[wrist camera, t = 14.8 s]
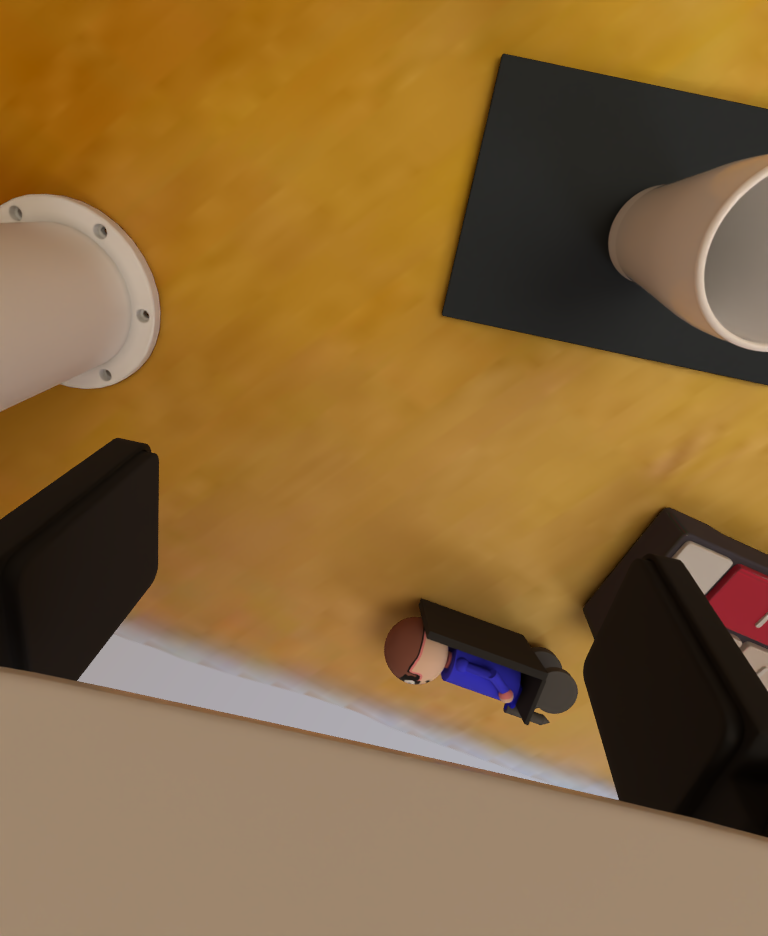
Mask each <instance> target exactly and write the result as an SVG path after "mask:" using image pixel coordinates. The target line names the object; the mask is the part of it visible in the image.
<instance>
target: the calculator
mask: <svg viewBox="0 0 768 936" xmlns="http://www.w3.org/2000/svg"><path fill="white" fill-rule="evenodd" d="M648 553H651V554H655V555H660V556H665V557H669V558H674V559H678V560H681V561H682V562H683V563H684V565H685V566H686V568H687V569H688V571H689V572H690V574H691V575H692V577H693V578H694V580H695V582H696V583H697V585H698V586H699V588H700V589H701V591H702V592H703V594H704V595H705V597H706V598H707V600H708V601H709V603H710V604H711V606H712V607H713V609H714V610H715V612H716V613H717V615H718V616H719V618H720V619H721V621H722V622H723V624H724V625H725V627H726V628H727V630H728V631H729V633H730V634H731V636H732V637H733V639H734V641H735V642H736V644H737V645H738V647H739V648H740V650H741V651H742V653H743V654H744V656H745V657H746V659H747V660H748V662H749V663H750V665H751V666H752V668H753V669H754V671H755V672H756V674H757V675H758V677H759V678H760V680H761V681H762V683H763V684H764V686H765V687H766V689H767V690H768V555H767V554H765V553H762V552H760V551H758V550H756V549H754V548H751V547H749V546H747V545H745V544H743V543H740V542H738V541H736V540H734V539H732V538H729V537H727V536H725V535H723V534H721V533H720V532H718V531H717V530H715V529H713V528H712V527H710V526H709V525H707V524H705V523H702V522H700V521H698V520H696V519H694V518H691V517H689V516H687V515H685V514H683V513H680V512H678V511H676V510H674V509H671V508H665V509H663V510H662V511H661V512H660V514H659V515H658V516H657V517H656V518H655V520H654V521H653V522H652V523H651V525H650V526H649V527H648V528H647V530H646V531H645V532H644V533H643V534H642V536H641V537H640V538H639V539H638V541H637V542H636V543H635V544H634V546H633V547H632V548H631V549H630V550H629V552H628V553H627V554H626V555H625V557H624V558H623V559H622V560H621V562H620V563H619V564H618V565H617V566H616V568H615V569H614V570H613V571H612V573H611V574H610V575H609V576H608V577H607V579H606V580H605V581H604V582H603V584H602V585H601V586H600V587H599V589H598V590H597V591H596V592H595V593H594V595H593V596H592V597H591V598H590V600H589V601H588V602H587V603H586V605H585V606H584V607H583V612H584V614H585V617H586V619H587V622H588V624H589V627H590V629H591V632H592V634H593V637H594V639H595V638H596V636H597V634H598V632H599V630H600V628H601V626H602V624H603V622H604V619H605V617H606V615H607V613H608V611H609V609H610V607H611V605H612V603H613V601H614V598H615V596H616V594H617V592H618V590H619V588H620V586H621V584H622V582H623V580H624V578H625V575H626V573H627V571H628V569H629V567H630V565H631V563H632V562H633V561H634V560H635V559H637V558H639V559H642V558H643V557H644V556H645V555H646V554H648Z"/></svg>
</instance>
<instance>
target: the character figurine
mask: <svg viewBox="0 0 768 936" xmlns="http://www.w3.org/2000/svg"><path fill="white" fill-rule="evenodd" d="M419 609H420V613H421V617H410V618H406V619H403V620H401V621H400V622H398V623H397V624H396V625H395V626H393V628H392V629H391V630H390V632H389V633H388V635H387V638H386V641H385V646H384V654H385V659H386V662H387V665H388V667H389V668H390V670H391V671H392V673H393V674H394V675H395V676H396V677H397V678H399V679H400V680H402V681H404V682H407V683H410V684H424V683H427V682H430V681H432V680H433V679H435V678H436V677H437V676H438V675H439V674H440V673H441V676H442V679H443V680H444V681H447V682H450V683H452V684H455V685H458V686H461V687H464V688H466V689H469V690H472V691H475V692H478V693H481V694H483V695H486V696H489V697H492V698H495V699H498V700H500V701H502V702H504V703H505V705H504V712H505V713H508V714H511V715H514V716H516V717H519V718H522V720H523V722H524V724H526V725H528V724H529V722H530V721H531V722H533V723H536V724H539V725H543V724H547V723H550V722H549V721H548V720H547V719H546V717H545V716H544V715H543V714H539V713H536V712H534V710H535V708H540V709H541V710H543V711H545V712H547V713H552V714H557V713H562V712H564V711H566V710H568V709H569V708H570V707H571V706H572V705H573V704H574V703H575V701H576V698H577V694H578V689H577V685H576V683H575V681H574V679H573V678H572V677H571V675H570V674H569V673H568V672H567V671H565V670H564V669H562V666H561V664H560V662H559V660H558V659H557V657H556V656H555V655H554V654H553V653H552V652H551V651H550V650H548V649H546V648H542V647H533V648H531V646H530V645H529V643H528V642H527V640H526V639H525V637H524V636H523V635H521V634H518V633H515V632H513V631H510V630H507V629H504V628H502V627H499V626H496V625H493V624H491V623H488V622H485V621H482V620H480V619H477V618H474V617H471V616H469V615H466V614H463V613H460V612H458V611H455V610H452V609H449V608H447V607H444V606H441V605H438V604H436V603H433V602H430V601H427V600H424V599H422V598H421V600H420V603H419Z"/></svg>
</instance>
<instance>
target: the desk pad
mask: <svg viewBox="0 0 768 936" xmlns="http://www.w3.org/2000/svg"><path fill="white" fill-rule="evenodd" d="M762 154H768V109H765V108H760V107H756V106H751V105H746V104H741V103H737V102H732V101H727V100H722V99H717V98H713V97H708V96H703V95H698V94H694V93H689V92H684V91H679V90H675V89H670V88H665V87H660V86H656V85H651V84H646V83H641V82H636V81H632V80H627V79H622V78H617V77H613V76H608V75H603V74H598V73H594V72H589V71H584V70H579V69H575V68H570V67H565V66H560V65H555V64H551V63H546V62H541V61H536V60H532V59H527V58H522V57H517V56H513V55H508V54H503V55H502V57H501V62H500V66H499V70H498V74H497V79H496V83H495V87H494V92H493V96H492V100H491V105H490V109H489V113H488V118H487V122H486V126H485V130H484V135H483V139H482V143H481V148H480V152H479V156H478V161H477V165H476V169H475V173H474V178H473V182H472V186H471V191H470V195H469V199H468V204H467V208H466V212H465V217H464V221H463V225H462V229H461V234H460V238H459V242H458V247H457V251H456V255H455V260H454V264H453V268H452V272H451V277H450V281H449V285H448V290H447V294H446V298H445V303H444V307H443V311H442V315H443V316H447V317H452V318H456V319H461V320H466V321H470V322H475V323H480V324H484V325H489V326H494V327H498V328H503V329H508V330H512V331H517V332H522V333H526V334H531V335H536V336H540V337H545V338H550V339H554V340H559V341H564V342H569V343H573V344H578V345H583V346H587V347H592V348H597V349H601V350H606V351H611V352H615V353H620V354H625V355H629V356H634V357H639V358H643V359H648V360H653V361H657V362H662V363H667V364H671V365H676V366H681V367H685V368H690V369H695V370H699V371H704V372H709V373H713V374H718V375H723V376H727V377H732V378H737V379H741V380H746V381H751V382H755V383H760V384H765V385H768V352H761V351H753V350H749V349H745V348H742V347H739V346H736V345H734V344H731V343H728V342H726V341H723V340H720V339H718V338H715V337H713V336H711V335H709V334H706V333H704V332H702V331H700V330H698V329H696V328H694V327H693V326H691V325H689V324H688V323H686V322H684V321H683V320H681V319H680V318H678V317H677V316H676V315H674V314H673V313H672V312H671V311H669V310H668V309H667V308H666V307H664V306H663V305H662V304H661V303H659V302H658V301H657V300H656V299H655V298H653V297H652V296H651V295H650V294H648V293H647V292H646V291H645V290H644V289H642V288H641V287H640V286H638V285H637V284H636V283H634V282H631V281H629V280H628V279H626V278H624V277H623V276H622V275H621V274H620V273H619V272H618V271H617V270H616V268H615V267H614V265H613V263H612V261H611V258H610V255H609V250H608V238H609V232H610V229H611V226H612V223H613V221H614V219H615V217H616V215H617V213H618V212H619V211H620V209H621V208H622V207H623V205H624V204H625V203H626V202H627V201H628V200H630V199H631V198H632V197H633V196H635V195H636V194H638V193H639V192H641V191H643V190H645V189H647V188H650V187H653V186H656V185H661V184H669V183H672V182H675V181H678V180H681V179H684V178H687V177H690V176H692V175H695V174H698V173H701V172H704V171H707V170H709V169H712V168H715V167H718V166H721V165H724V164H727V163H730V162H734V161H737V160H740V159H744V158H748V157H753V156H758V155H762Z"/></svg>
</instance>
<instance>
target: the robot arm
mask: <svg viewBox="0 0 768 936" xmlns="http://www.w3.org/2000/svg"><path fill="white" fill-rule="evenodd" d="M105 228H106V231H107V234H106V233H105ZM146 311H147V313H148V314H149V317H148V316H147V314H146ZM160 313H161V311H160V303H159V295H158V291H157V287H156V284H155V281H154V277H153V274H152V272H151V270H150V268H149V266H148V264H147V262H146V260H145V258H144V256H143V255H142V253H141V252H140V250H139V249H138V247H137V246H136V244H135V243H134V242H133V240H132V239H131V238H130V237H129V236H128V235H127V234H126V232H125V231H124V230H123V229H122V228H121V227H120V226H119V225H118V224H117V223H116V222H114V221H113V220H112V219H110V218H109V217H108V216H106V215H105V214H104V213H103V212H101V211H99V210H98V209H96V208H94V207H92V206H90V205H88V204H86V203H85V202H82V201H79V200H76V199H73V198H70V197H67V196H60V195H51V194H29V195H25V196H21V197H17V198H13V199H11V200H9V201H8V202H6V203H4V204H2V205H0V412H1V411H3V410H5V409H7V408H9V407H11V406H13V405H16V404H18V403H20V402H22V401H24V400H26V399H28V398H31V397H33V396H35V395H37V394H39V393H41V392H43V391H45V390H48V389H50V388H52V387H54V386H56V385H58V384H62V385H65V386H68V387H74V388H82V389H92V388H102V387H106V386H109V385H113V384H116V383H118V382H120V381H122V380H124V379H126V378H127V377H129V376H130V375H132V374H133V373H134V372H136V371H137V370H139V369H140V367H141V366H142V365H143V364H144V363H145V362H146V360H147V359H148V358H149V356H150V354H151V352H152V350H153V348H154V346H155V344H156V341H157V337H158V333H159V329H160ZM158 502H159V458H158V455H157V454H155V453H151V449H150V447H149V445H148V444H144V443H139V442H135V441H130V440H126V439H121V438H116V439H113V440H112V441H111V442H109V443H108V444H106V445H105V446H104V447H102V448H101V449H99V450H98V451H96V452H95V453H94V454H92V455H91V456H89V457H88V458H87V459H85V460H84V461H82V462H81V463H80V464H78V465H77V466H75V467H74V468H72V469H71V470H70V471H68V472H67V473H65V474H64V475H63V476H61V477H60V478H58V479H57V480H56V481H54V482H53V483H51V484H50V485H49V486H47V487H46V488H44V489H43V490H41V491H40V492H39V493H37V494H36V495H34V496H33V497H32V498H30V499H29V500H27V501H26V502H25V503H23V504H22V505H20V506H19V507H17V508H16V509H15V510H13V511H12V512H10V513H9V514H8V515H6V516H5V517H3V518H2V519H1V520H0V936H768V690H767V689H766V687H765V686H764V684H763V683H762V681H761V680H760V678H759V677H758V675H757V674H756V672H755V671H754V669H753V668H752V666H751V665H750V663H749V662H748V660H747V659H746V657H745V656H744V654H743V653H742V651H741V650H740V648H739V647H738V645H737V644H736V642H735V641H734V639H733V637H732V636H731V634H730V633H729V631H728V630H727V628H726V627H725V625H724V624H723V622H722V621H721V619H720V618H719V616H718V615H717V613H716V612H715V610H714V609H713V607H712V606H711V604H710V603H709V601H708V600H707V598H706V597H705V595H704V594H703V592H702V591H701V589H700V588H699V586H698V585H697V583H696V582H695V580H694V578H693V577H692V575H691V574H690V572H689V571H688V569H687V568H686V566H685V565H684V563H683V562H682V561H681V560H678V559H674V558H669V557H665V556H660V555H655V554H651V553H648V554H646V555H645V556H644V557H643V558H642V559H639V558H637V559H635V560H634V561H633V562H632V563H631V565H630V567H629V569H628V571H627V573H626V575H625V578H624V580H623V582H622V584H621V586H620V588H619V590H618V592H617V594H616V596H615V598H614V601H613V603H612V605H611V607H610V609H609V611H608V613H607V615H606V617H605V619H604V622H603V624H602V626H601V628H600V630H599V632H598V634H597V636H596V638H595V640H594V643H593V645H592V647H591V649H590V651H589V653H588V655H587V657H586V660H585V663H584V669H583V676H584V681H585V684H586V688H587V691H588V695H589V698H590V702H591V705H592V708H593V712H594V715H595V719H596V722H597V726H598V729H599V733H600V736H601V739H602V743H603V746H604V750H605V753H606V757H607V760H608V764H609V767H610V770H611V774H612V777H613V781H614V784H615V788H616V791H617V795H618V798H619V800H615V799H610V798H606V797H602V796H597V795H593V794H588V793H584V792H580V791H575V790H571V789H566V788H562V787H558V786H553V785H549V784H544V783H540V782H536V781H531V780H527V779H522V778H517V777H514V776H509V775H505V774H500V773H495V772H491V771H487V770H483V769H478V768H473V767H469V766H465V765H461V764H456V763H452V762H447V761H442V760H438V759H434V758H429V757H424V756H420V755H415V754H411V753H406V752H402V751H398V750H393V749H388V748H384V747H379V746H375V745H370V744H366V743H361V742H357V741H352V740H348V739H343V738H339V737H334V736H330V735H325V734H320V733H316V732H311V731H306V730H302V729H298V728H293V727H289V726H284V725H279V724H275V723H271V722H266V721H261V720H257V719H252V718H247V717H243V716H238V715H233V714H229V713H224V712H219V711H214V710H210V709H205V708H201V707H196V706H191V705H187V704H182V703H178V702H172V701H168V700H163V699H159V698H154V697H149V696H145V695H140V694H135V693H131V692H126V691H121V690H117V689H112V688H108V687H103V686H97V685H93V684H88V683H84V682H79V681H77V680H78V679H79V677H80V676H81V675H82V673H83V672H84V671H85V670H86V668H87V667H88V666H89V664H90V663H91V662H92V660H93V659H94V658H95V657H96V655H97V654H98V653H99V652H100V650H101V649H102V648H103V646H104V645H105V644H106V642H107V641H108V640H109V639H110V637H111V636H112V635H113V633H114V632H115V631H116V630H117V628H118V627H119V626H120V624H121V623H122V622H123V621H124V619H125V618H126V617H127V615H128V614H129V613H130V611H131V610H132V609H133V608H134V606H135V605H136V604H137V602H138V601H139V600H140V599H141V597H142V596H143V595H144V593H145V592H146V591H147V589H148V588H149V587H150V586H151V584H152V583H153V581H154V579H155V576H156V573H157V569H158Z"/></svg>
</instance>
